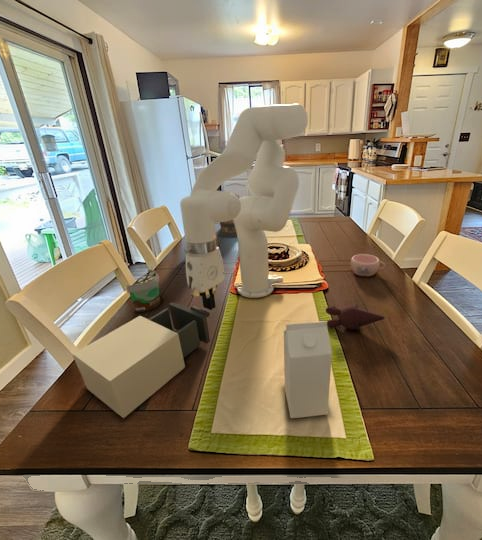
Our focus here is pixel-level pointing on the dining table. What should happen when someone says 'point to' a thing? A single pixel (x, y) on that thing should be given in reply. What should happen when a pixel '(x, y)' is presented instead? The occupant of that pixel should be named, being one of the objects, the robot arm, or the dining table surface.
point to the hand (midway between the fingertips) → (209, 307)
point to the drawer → (185, 325)
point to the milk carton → (307, 368)
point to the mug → (365, 264)
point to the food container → (145, 292)
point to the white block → (130, 363)
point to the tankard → (228, 228)
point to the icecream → (351, 317)
